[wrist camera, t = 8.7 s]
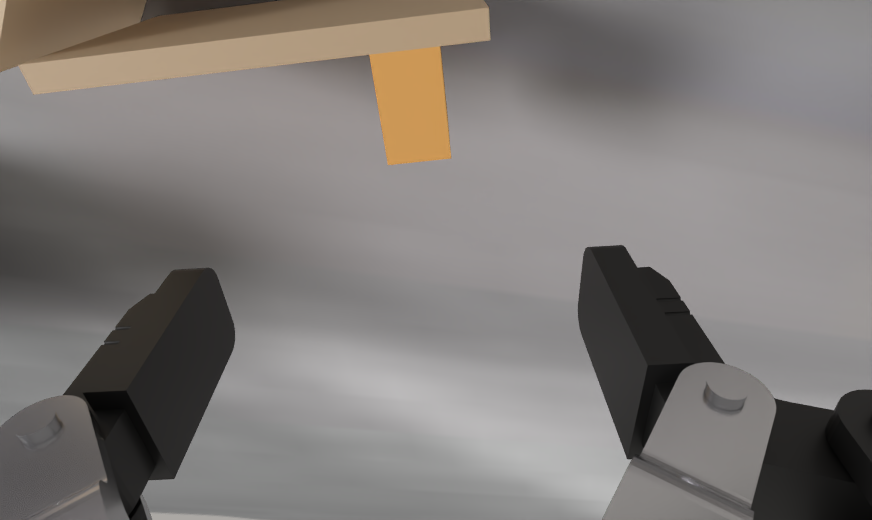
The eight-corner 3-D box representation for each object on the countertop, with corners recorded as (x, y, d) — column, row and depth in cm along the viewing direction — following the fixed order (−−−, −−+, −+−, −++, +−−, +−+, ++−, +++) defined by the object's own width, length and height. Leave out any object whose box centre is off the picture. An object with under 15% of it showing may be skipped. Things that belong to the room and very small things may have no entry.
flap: (158, 15, 27) (18, 64, 18) (468, -23, 26) (488, 7, 17) (193, 111, 30) (86, 197, 21) (475, 79, 29) (495, 153, 20)
